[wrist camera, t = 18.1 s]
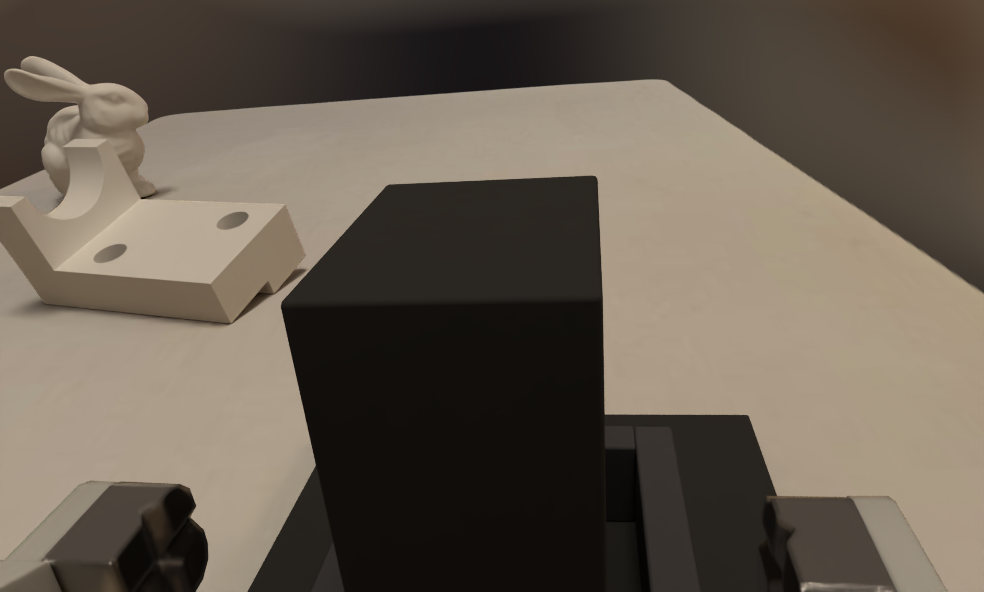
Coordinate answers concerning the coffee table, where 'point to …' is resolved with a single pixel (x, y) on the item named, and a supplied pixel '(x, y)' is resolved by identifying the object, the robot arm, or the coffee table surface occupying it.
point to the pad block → (460, 388)
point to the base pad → (614, 511)
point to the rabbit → (84, 118)
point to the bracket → (147, 245)
